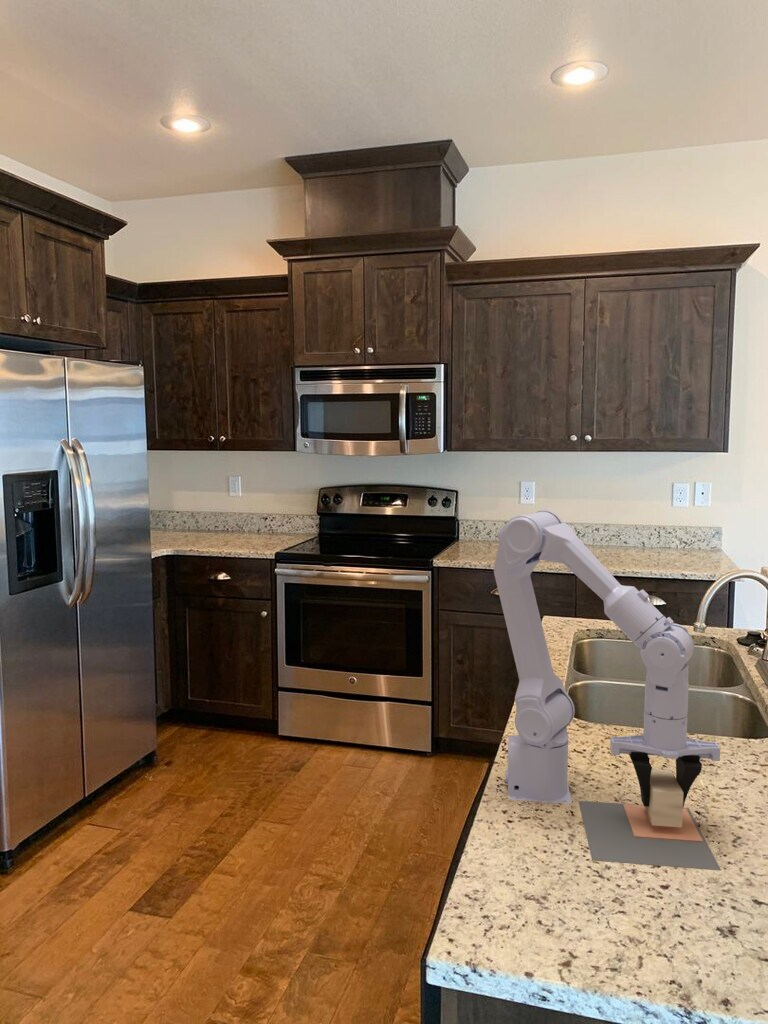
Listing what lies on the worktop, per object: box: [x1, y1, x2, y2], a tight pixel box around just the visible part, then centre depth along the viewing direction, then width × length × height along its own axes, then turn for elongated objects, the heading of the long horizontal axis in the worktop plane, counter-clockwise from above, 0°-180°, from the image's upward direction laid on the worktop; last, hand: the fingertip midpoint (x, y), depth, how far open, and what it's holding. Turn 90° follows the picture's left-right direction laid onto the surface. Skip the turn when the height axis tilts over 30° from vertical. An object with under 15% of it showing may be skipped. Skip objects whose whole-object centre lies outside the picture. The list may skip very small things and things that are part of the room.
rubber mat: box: [578, 800, 722, 872], centre depth 104 cm, size 16×16×1 cm
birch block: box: [644, 768, 684, 827], centre depth 107 cm, size 7×4×5 cm, turn 172°
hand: (662, 804), depth 107 cm, fingers closed on birch block, 4 cm apart
